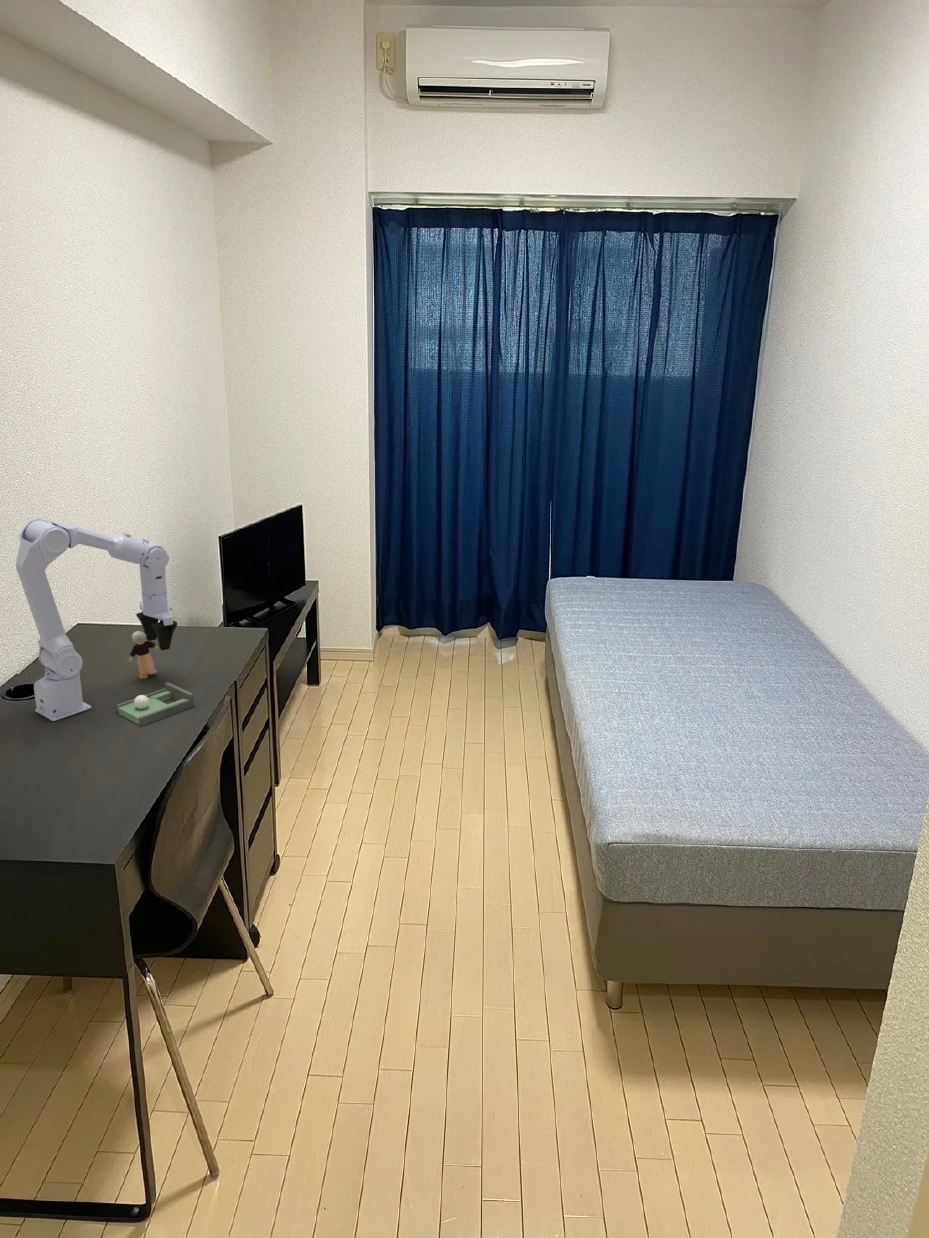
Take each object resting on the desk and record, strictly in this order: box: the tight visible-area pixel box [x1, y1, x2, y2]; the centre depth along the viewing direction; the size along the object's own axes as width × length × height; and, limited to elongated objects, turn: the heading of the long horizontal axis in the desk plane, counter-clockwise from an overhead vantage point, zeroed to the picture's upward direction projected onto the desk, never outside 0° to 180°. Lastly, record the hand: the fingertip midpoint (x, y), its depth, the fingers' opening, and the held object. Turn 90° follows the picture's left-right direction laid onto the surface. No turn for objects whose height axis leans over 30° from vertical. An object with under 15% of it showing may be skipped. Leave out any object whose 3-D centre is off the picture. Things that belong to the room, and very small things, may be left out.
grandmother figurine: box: [128, 630, 160, 680], centre depth 225 cm, size 8×4×13 cm, turn 142°
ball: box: [134, 694, 149, 709], centre depth 207 cm, size 3×3×3 cm
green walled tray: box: [115, 681, 195, 727], centre depth 210 cm, size 14×10×3 cm
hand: (158, 644), depth 222 cm, fingers open, 7 cm apart
